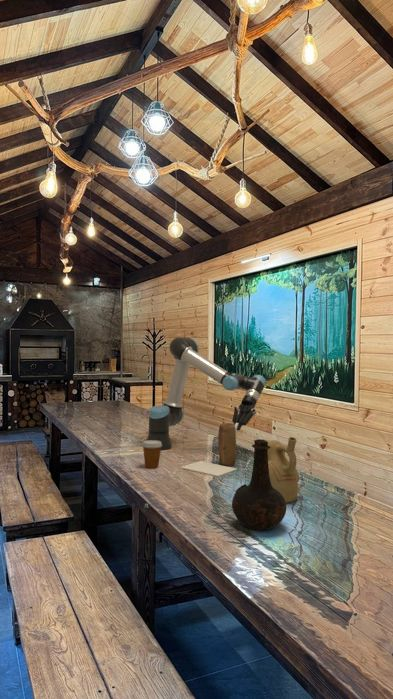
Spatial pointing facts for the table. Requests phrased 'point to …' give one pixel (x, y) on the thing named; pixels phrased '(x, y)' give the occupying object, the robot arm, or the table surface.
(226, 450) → the block
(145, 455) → the disposable coffee cup
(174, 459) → the table surface
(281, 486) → the ceramic vessel
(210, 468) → the mat
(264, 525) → the glass bottle
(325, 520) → the table surface
